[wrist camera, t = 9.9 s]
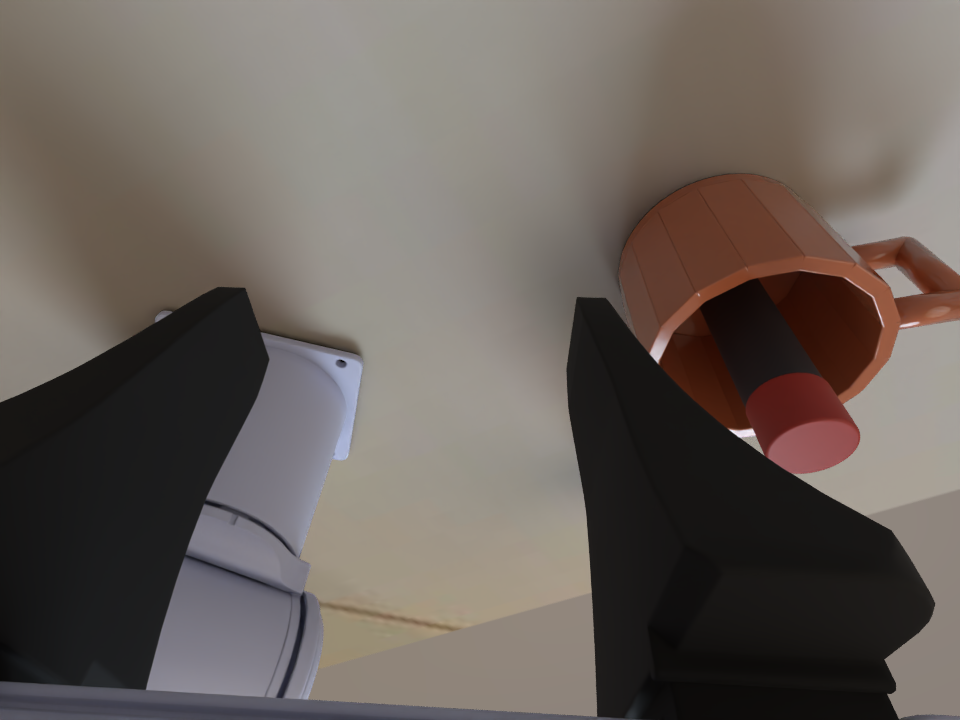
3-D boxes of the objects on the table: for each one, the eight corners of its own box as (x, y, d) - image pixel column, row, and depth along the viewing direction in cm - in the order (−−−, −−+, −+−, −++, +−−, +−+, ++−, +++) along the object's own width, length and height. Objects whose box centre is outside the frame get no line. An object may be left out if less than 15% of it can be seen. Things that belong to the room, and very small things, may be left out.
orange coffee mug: (626, 348, 24) (651, 449, 20) (609, 199, 20) (636, 286, 15) (876, 307, 22) (968, 409, 18) (921, 129, 18) (1063, 206, 13)
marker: (674, 287, 21) (748, 465, 15) (704, 238, 20) (802, 410, 13) (725, 301, 22) (821, 482, 15) (759, 253, 20) (882, 429, 13)
